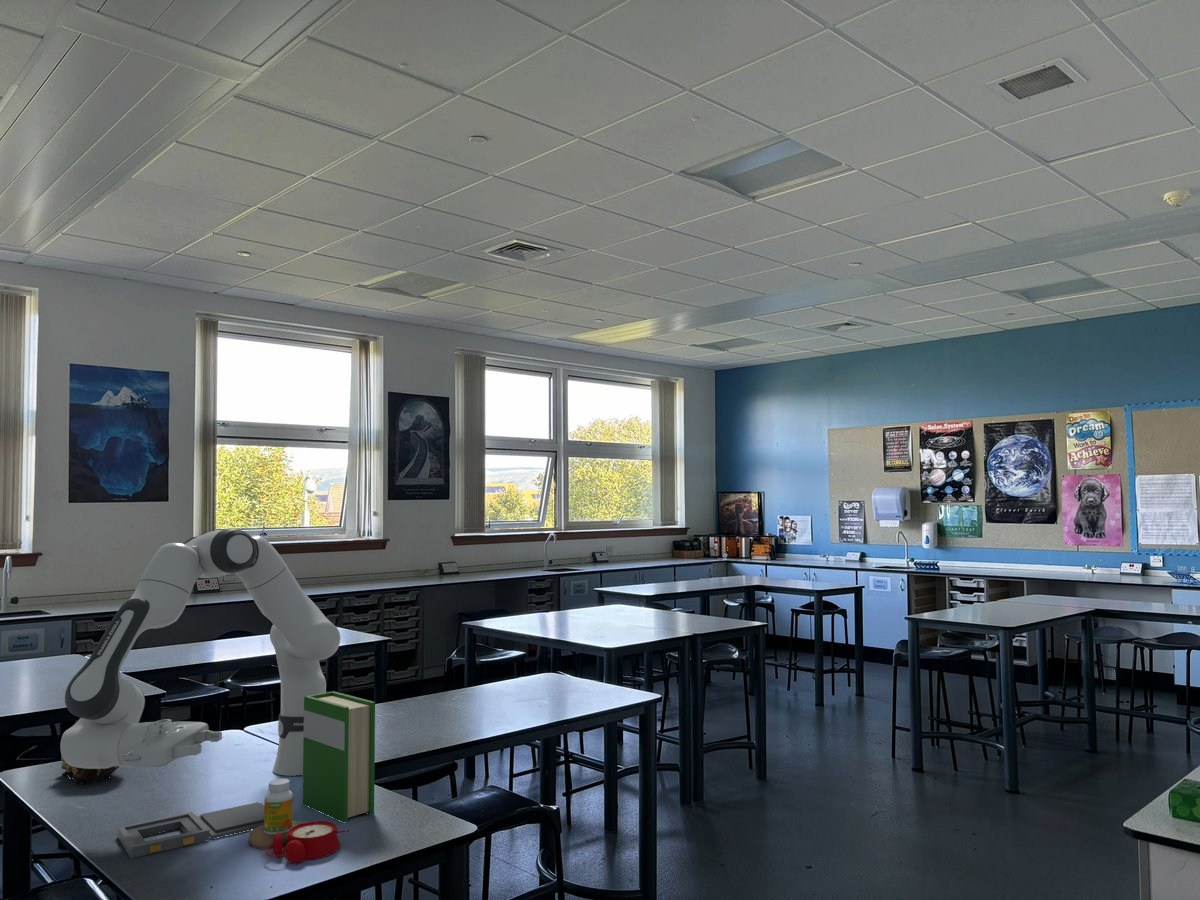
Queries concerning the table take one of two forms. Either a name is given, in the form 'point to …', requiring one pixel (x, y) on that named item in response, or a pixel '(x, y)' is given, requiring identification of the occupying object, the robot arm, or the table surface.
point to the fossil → (87, 773)
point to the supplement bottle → (278, 807)
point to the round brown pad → (266, 837)
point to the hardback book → (339, 754)
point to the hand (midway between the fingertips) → (210, 742)
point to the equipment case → (190, 828)
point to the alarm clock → (307, 841)
